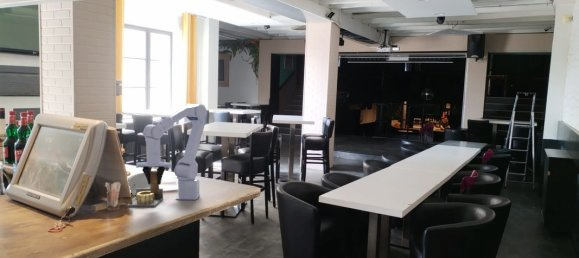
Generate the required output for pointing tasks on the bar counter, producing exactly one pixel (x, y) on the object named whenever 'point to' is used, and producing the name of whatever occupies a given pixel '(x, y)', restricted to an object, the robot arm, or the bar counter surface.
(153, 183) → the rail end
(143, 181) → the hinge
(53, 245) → the bar counter surface
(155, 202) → the cup bracket
